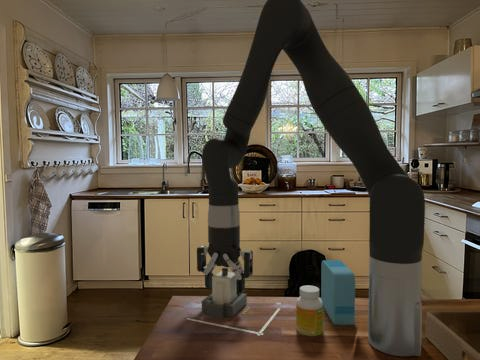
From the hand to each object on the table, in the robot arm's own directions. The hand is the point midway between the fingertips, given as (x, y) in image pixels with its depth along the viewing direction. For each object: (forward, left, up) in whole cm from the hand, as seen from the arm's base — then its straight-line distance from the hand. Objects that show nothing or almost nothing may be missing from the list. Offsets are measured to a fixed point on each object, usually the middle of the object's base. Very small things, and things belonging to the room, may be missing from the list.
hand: (224, 291), depth 83 cm
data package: (-25, -7, -5) cm, 27 cm away
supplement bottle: (-21, +3, -5) cm, 22 cm away
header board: (-4, +3, -5) cm, 7 cm away
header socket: (-1, +1, -4) cm, 4 cm away
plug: (0, 0, -4) cm, 4 cm away
